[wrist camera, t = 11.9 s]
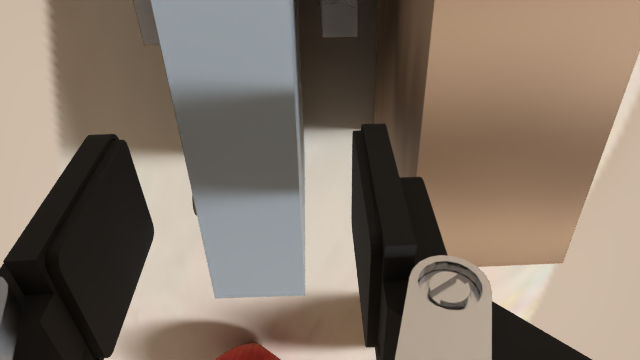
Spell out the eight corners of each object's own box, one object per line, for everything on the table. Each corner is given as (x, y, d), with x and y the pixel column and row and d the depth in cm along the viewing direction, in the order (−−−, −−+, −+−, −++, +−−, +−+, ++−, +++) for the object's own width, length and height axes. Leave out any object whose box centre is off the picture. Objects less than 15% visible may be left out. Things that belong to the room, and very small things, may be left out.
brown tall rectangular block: (382, -119, 17) (443, -83, 10) (524, -125, 17) (692, -93, 10) (373, 130, 23) (406, 270, 16) (479, 125, 23) (562, 263, 16)
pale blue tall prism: (184, -78, 18) (100, -15, 10) (294, -81, 18) (287, -21, 10) (222, 154, 23) (184, 299, 16) (304, 151, 24) (305, 295, 16)
